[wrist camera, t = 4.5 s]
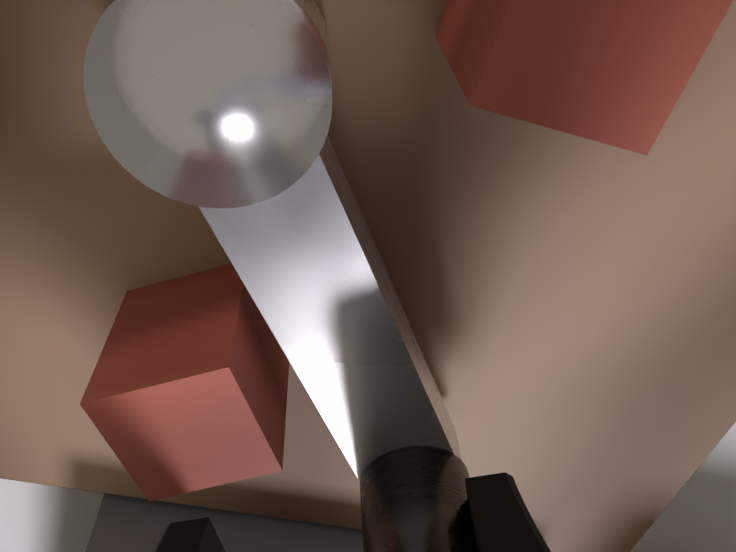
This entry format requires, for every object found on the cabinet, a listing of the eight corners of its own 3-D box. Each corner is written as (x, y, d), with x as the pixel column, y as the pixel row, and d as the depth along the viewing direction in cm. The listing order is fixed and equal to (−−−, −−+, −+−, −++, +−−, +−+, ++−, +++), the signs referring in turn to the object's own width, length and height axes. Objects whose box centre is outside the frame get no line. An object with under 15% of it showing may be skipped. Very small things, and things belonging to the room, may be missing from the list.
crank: (488, 432, 13) (575, 760, 8) (356, 471, 13) (373, 804, 9) (279, -94, 8) (220, 21, 3) (78, -6, 8) (-209, 202, 4)
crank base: (978, 32, 10) (1238, 117, 7) (603, 528, 16) (663, 681, 14) (-33, -336, 7) (-265, -436, 4) (-24, 431, 14) (-119, 598, 11)
